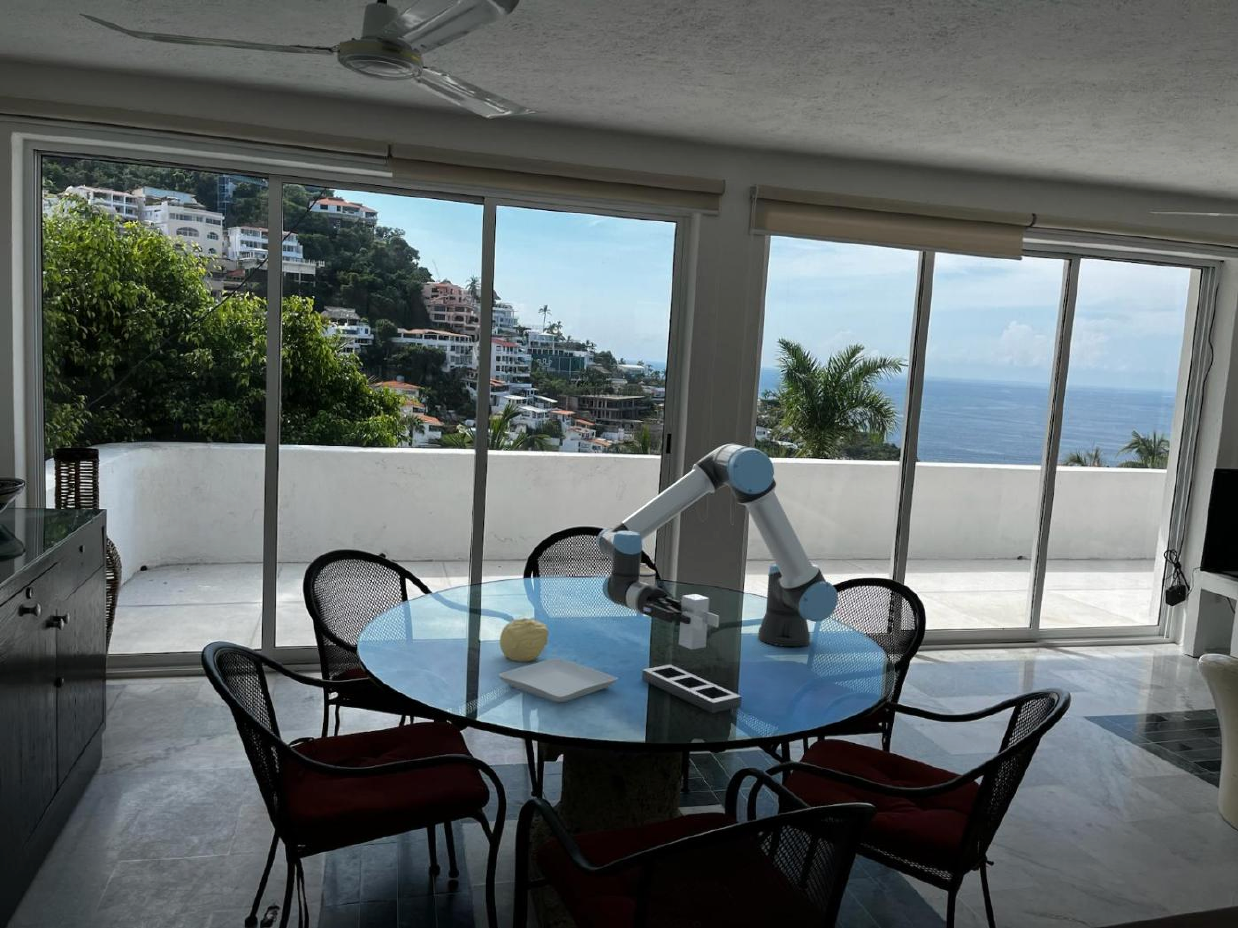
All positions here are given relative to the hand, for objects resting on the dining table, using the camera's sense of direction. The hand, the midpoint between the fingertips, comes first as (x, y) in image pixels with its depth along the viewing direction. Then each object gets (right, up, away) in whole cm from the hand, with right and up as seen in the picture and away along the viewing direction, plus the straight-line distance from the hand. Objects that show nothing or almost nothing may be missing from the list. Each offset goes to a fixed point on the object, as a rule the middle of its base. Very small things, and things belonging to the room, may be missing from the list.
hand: (709, 622), depth 224 cm
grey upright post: (-4, -6, +5) cm, 9 cm away
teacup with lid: (-15, -8, +97) cm, 99 cm away
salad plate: (-36, -17, +4) cm, 40 cm away
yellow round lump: (-47, -14, +25) cm, 55 cm away
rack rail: (-4, -18, +6) cm, 19 cm away
